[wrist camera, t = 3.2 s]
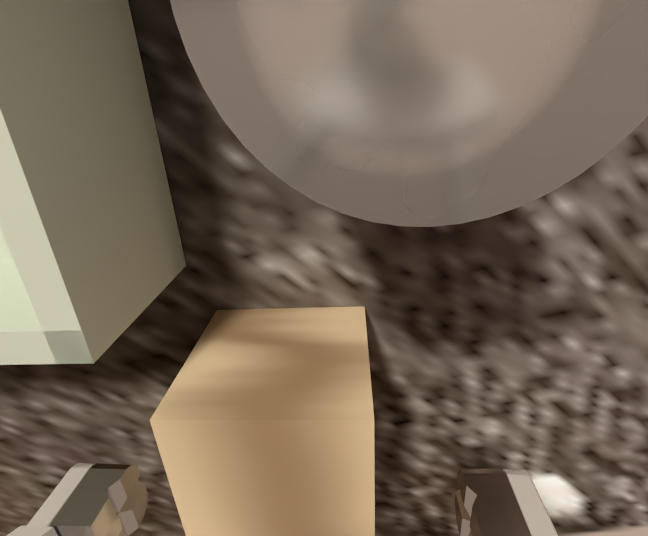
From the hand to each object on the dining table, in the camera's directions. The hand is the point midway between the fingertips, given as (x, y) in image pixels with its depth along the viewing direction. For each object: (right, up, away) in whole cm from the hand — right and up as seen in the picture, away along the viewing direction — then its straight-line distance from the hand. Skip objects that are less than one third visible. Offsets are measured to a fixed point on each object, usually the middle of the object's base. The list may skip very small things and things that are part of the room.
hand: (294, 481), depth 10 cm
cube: (0, +2, +4) cm, 5 cm away
